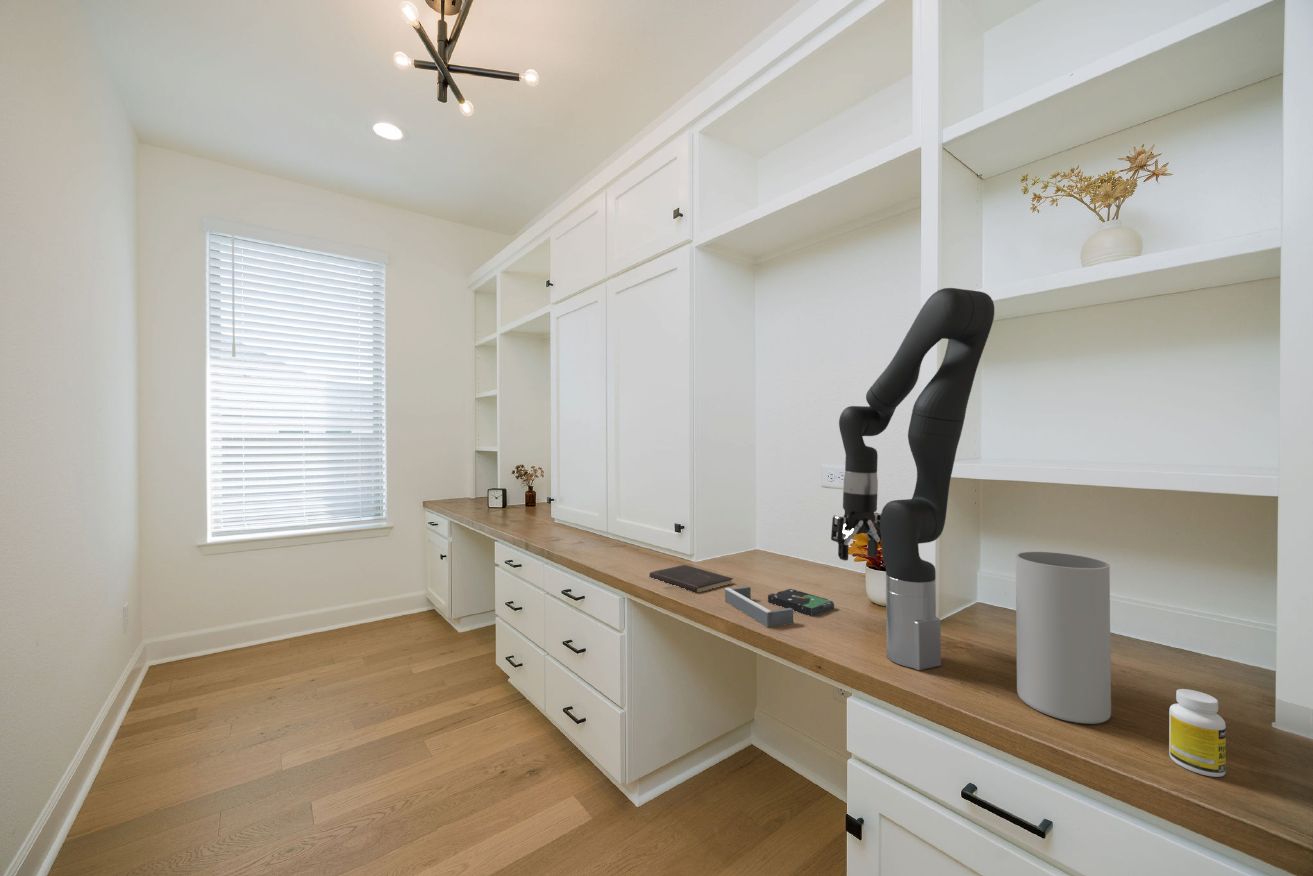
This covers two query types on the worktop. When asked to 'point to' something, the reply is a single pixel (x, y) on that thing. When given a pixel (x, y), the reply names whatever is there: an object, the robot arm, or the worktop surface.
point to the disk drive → (801, 602)
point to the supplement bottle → (1197, 733)
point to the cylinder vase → (1064, 635)
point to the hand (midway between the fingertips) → (857, 558)
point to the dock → (757, 608)
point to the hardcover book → (691, 578)
